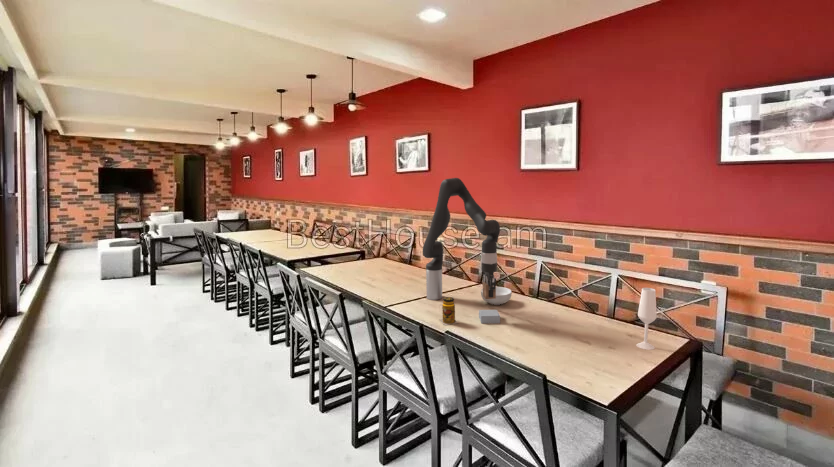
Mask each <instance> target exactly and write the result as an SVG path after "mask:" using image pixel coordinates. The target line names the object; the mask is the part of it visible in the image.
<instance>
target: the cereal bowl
mask: <svg viewBox="0 0 834 467" xmlns="http://www.w3.org/2000/svg"><path fill="white" fill-rule="evenodd" d="M480 296H481V298H482V300H483V301H484V302H486V303H489V304H490V305H493V304H494V305H495V306H499V305H500V304H501V305H503V304H505V303H507V302H509V301H510V300H511V297H512V290H511V289H510V288H508V287H505V286H504V287H503V286H496V299H485V298H484V297H483V288H482V289H481V290H480ZM501 305H500V306H501Z"/></svg>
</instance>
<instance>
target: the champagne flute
mask: <svg viewBox="0 0 834 467" xmlns="http://www.w3.org/2000/svg"><path fill="white" fill-rule="evenodd" d="M656 292H657V291H656V289H655V288H651V287H642V288H641V292H640V299H639V305H638V311H637V316H638V318H639V319H640V321H641V322H642V323H644V336H643V341H642V342H639V343H636V344H635V346H636V347H637V348H639V349H643V350H647V351H648V350H651V351H653V350H655V346H654V345H653V344H651V343H649V341H648V338H649V331H648V330H649V324H651V323H653V322H654V321H655V320H657V317H658V314H657V301H656V300H657V296H656V295H657V293H656Z"/></svg>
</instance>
